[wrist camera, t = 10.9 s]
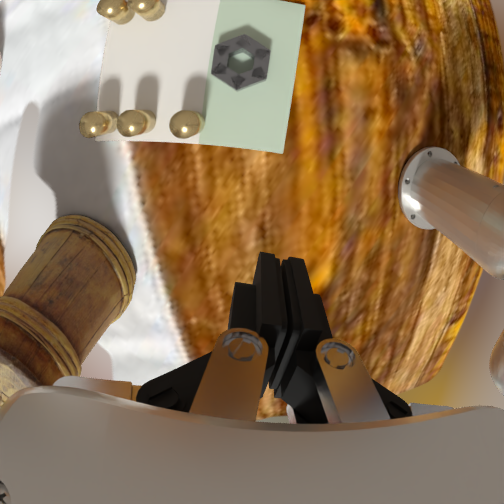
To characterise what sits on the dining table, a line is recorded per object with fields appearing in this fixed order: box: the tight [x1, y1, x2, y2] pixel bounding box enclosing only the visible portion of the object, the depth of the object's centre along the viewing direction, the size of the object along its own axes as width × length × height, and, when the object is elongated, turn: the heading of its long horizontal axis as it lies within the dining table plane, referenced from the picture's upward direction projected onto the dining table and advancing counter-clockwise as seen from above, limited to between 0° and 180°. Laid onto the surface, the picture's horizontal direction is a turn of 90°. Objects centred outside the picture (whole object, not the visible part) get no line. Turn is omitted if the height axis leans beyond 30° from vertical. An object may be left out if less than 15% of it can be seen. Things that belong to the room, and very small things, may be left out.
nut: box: [211, 34, 271, 92], centre depth 26 cm, size 6×7×2 cm
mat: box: [95, 0, 305, 154], centre depth 27 cm, size 24×20×1 cm
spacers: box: [79, 0, 205, 139], centre depth 24 cm, size 14×18×5 cm
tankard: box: [0, 215, 136, 406], centre depth 29 cm, size 18×24×25 cm
